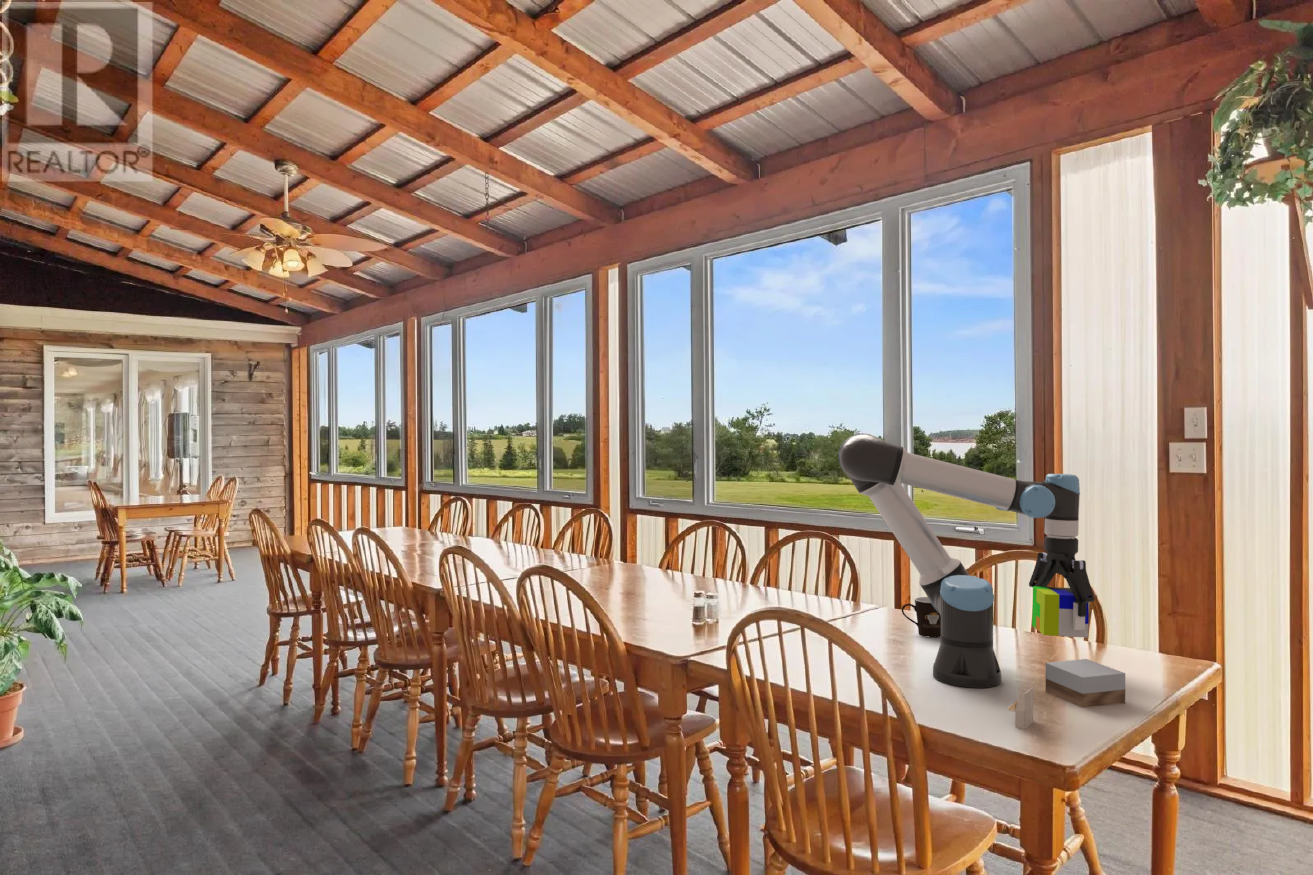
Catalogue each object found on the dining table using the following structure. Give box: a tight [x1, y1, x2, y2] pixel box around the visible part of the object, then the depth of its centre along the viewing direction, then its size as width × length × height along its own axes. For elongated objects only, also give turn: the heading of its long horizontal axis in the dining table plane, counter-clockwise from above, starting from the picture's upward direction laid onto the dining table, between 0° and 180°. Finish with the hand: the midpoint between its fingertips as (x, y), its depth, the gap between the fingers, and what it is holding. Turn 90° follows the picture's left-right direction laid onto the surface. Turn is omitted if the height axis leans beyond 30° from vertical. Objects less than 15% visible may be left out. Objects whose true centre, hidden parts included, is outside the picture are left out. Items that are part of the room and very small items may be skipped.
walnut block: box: [1045, 678, 1126, 708], centre depth 179 cm, size 11×11×4 cm
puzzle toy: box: [1031, 586, 1090, 639], centre depth 201 cm, size 10×10×10 cm
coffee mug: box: [901, 596, 941, 638], centre depth 235 cm, size 12×9×10 cm
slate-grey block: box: [1045, 658, 1126, 694], centre depth 179 cm, size 11×11×4 cm
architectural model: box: [1007, 686, 1034, 730], centre depth 164 cm, size 3×7×7 cm, turn 141°
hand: (1059, 623), depth 201 cm, fingers closed on puzzle toy, 12 cm apart
